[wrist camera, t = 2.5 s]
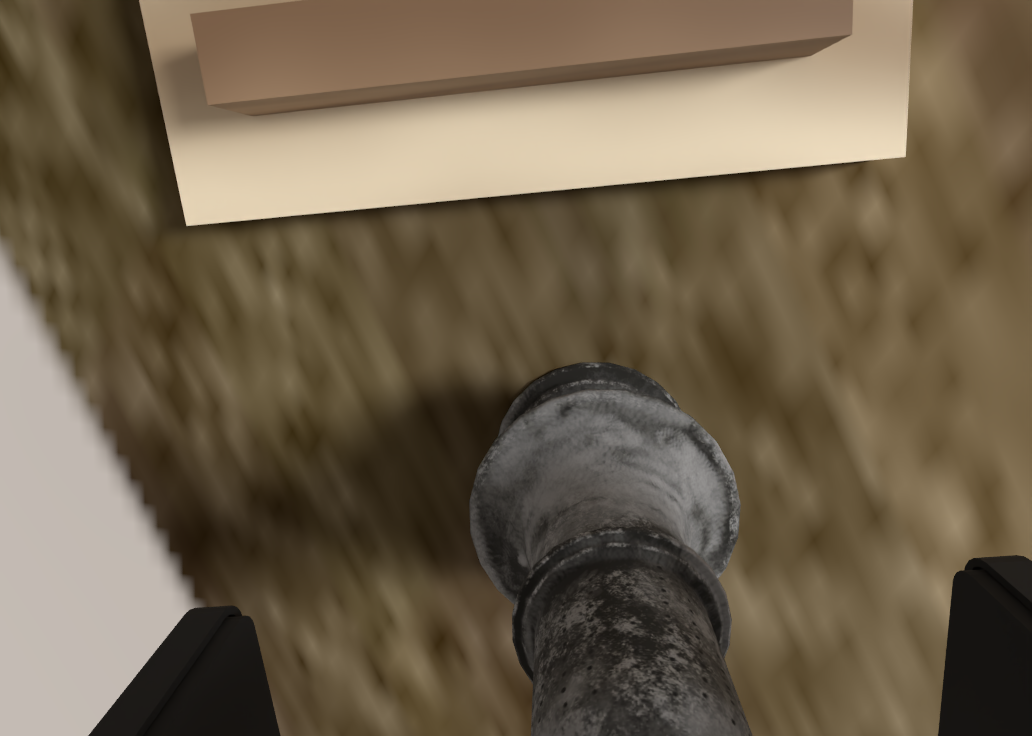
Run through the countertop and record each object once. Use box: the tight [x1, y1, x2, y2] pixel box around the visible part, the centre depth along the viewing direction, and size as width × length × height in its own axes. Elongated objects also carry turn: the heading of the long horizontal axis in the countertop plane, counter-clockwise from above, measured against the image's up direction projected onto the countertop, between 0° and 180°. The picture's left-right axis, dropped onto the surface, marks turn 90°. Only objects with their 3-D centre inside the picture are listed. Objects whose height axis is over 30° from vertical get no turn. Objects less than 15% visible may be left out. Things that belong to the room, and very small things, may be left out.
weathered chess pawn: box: [469, 363, 752, 736], centre depth 12 cm, size 6×6×12 cm
